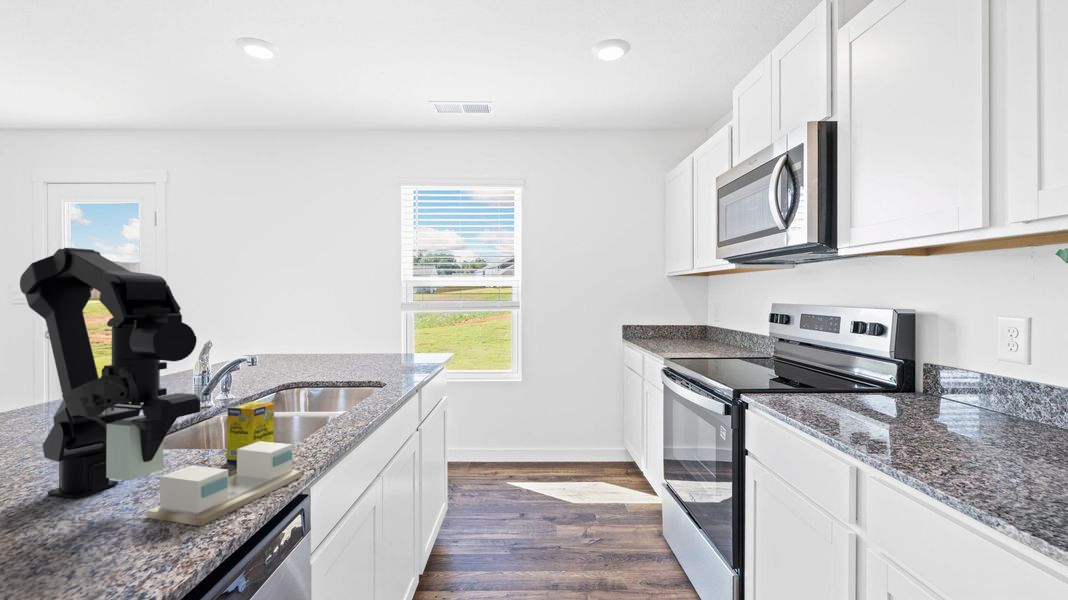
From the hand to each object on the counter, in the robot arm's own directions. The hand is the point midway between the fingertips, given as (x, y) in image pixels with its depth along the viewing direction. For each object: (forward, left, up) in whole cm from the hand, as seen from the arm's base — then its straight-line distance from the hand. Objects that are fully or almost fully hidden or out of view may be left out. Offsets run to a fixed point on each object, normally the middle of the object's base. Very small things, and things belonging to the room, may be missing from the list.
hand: (135, 459), depth 75 cm
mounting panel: (+10, +8, -7) cm, 15 cm away
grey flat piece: (+10, +8, -7) cm, 15 cm away
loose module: (0, 0, -2) cm, 2 cm away
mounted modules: (+10, +8, -6) cm, 14 cm away
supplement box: (-1, +23, -8) cm, 24 cm away
